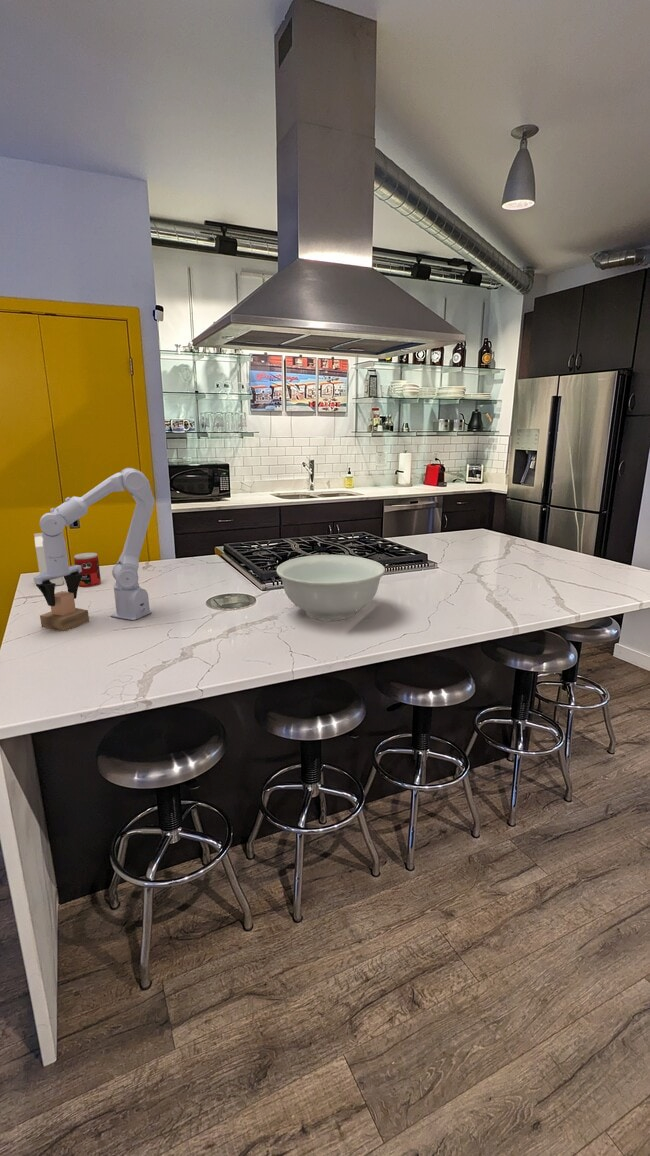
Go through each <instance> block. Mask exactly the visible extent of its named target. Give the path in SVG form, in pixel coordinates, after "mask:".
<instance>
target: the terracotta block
mask: <svg viewBox="0 0 650 1156" xmlns="http://www.w3.org/2000/svg"><path fill="white" fill-rule="evenodd" d="M54 595H55V606H50V612H52V614H55V615H62V616H64V615H67V614H70V613H72V612H75V611H76V608H77V607H76V601H75V599H74V593H69V592H68V591H63V590H62V591H60V592H59V591H58V592H55V593H54Z"/></svg>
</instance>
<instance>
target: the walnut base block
mask: <svg viewBox="0 0 650 1156" xmlns="http://www.w3.org/2000/svg"><path fill="white" fill-rule="evenodd" d="M75 608H76V611H75V612H72V613H70V614H67V615H64V616H62V615H55V614H52V612H51V611H49V612H46V613H43V614H40V615H39V619H40V625H41V628H43V627H44V629H49V630H53V631H57V630H58V631H59V632H62V631H63V632H64V631H65V632H67V631H69V629H70V630H72V629H74V628H75V629H76V628H77V627H80V626H82V625H84V624H87V623H90V616H89V610H88V609H84V608H78V607H75ZM63 632H62V633H63Z"/></svg>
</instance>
